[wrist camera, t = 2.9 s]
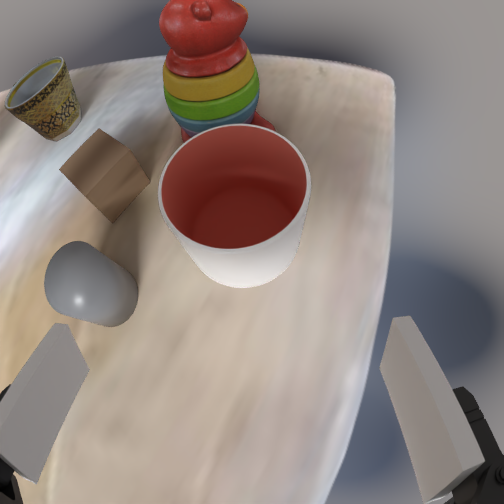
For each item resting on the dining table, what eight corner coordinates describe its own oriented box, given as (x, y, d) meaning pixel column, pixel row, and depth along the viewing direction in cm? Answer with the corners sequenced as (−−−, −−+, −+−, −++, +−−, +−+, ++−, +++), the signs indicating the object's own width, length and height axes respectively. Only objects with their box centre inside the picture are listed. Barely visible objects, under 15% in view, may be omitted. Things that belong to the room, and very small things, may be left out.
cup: (285, 183, 30) (289, 113, 21) (310, 279, 27) (330, 236, 18) (187, 202, 30) (156, 139, 21) (198, 300, 27) (161, 268, 18)
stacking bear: (283, 147, 32) (288, -3, 15) (194, 178, 31) (139, 33, 14) (248, 89, 35) (235, -35, 19) (172, 115, 35) (129, -7, 18)
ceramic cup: (104, 103, 37) (76, 54, 28) (62, 156, 34) (24, 111, 25) (57, 98, 39) (31, 58, 30) (21, 143, 37) (-12, 106, 27)
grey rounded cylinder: (79, 285, 28) (38, 265, 21) (124, 255, 29) (89, 227, 22) (99, 337, 26) (56, 328, 20) (148, 308, 27) (112, 291, 20)
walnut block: (85, 196, 32) (58, 169, 26) (120, 159, 33) (99, 128, 27) (112, 223, 30) (85, 196, 25) (150, 182, 32) (130, 149, 26)
